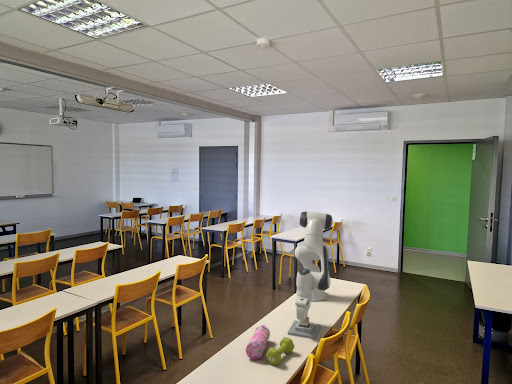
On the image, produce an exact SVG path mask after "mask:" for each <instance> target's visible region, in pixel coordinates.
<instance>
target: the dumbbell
mask: <svg viewBox="0 0 512 384" xmlns="http://www.w3.org/2000/svg"><path fill="white" fill-rule="evenodd" d="M294 349H295V344H294V342H293V340H292V338H290V337H286V336H285V337H282V338H281V340H280V342H279V347H278V348H274V347H270V348H269V349H268V350H267V351H266V353H265V357H266V359H267V362H268V363H269V364H270V365H272V366H278V365H279V364H280V362H281V360H282V355H283V354H284V353H285V354H287V355H288V354H291V353H292V352H293V351H294Z"/></svg>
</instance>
